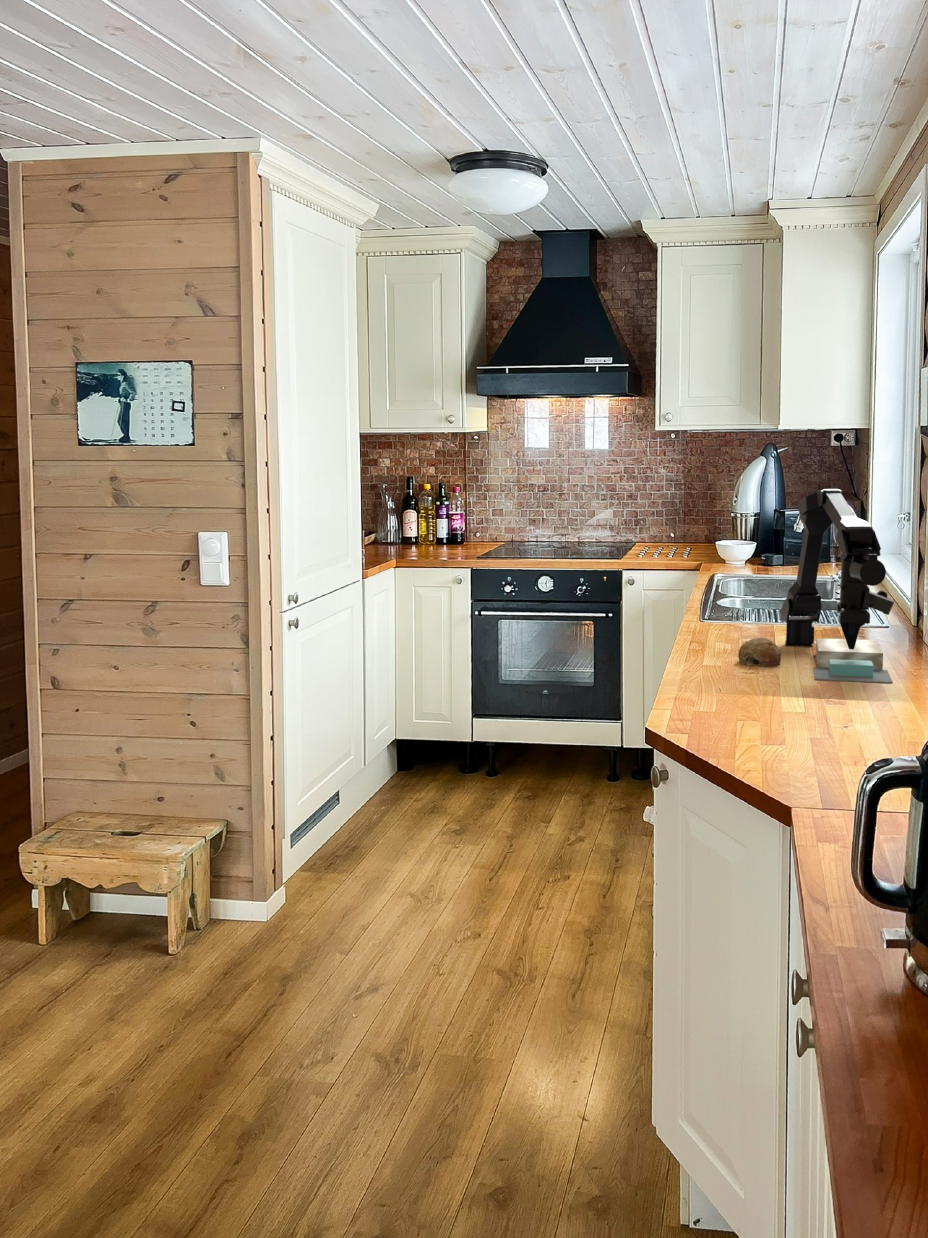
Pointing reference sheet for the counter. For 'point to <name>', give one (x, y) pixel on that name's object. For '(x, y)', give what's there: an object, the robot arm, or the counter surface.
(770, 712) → the counter surface
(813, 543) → the robot arm
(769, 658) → the brown rounded dome
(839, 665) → the teal rectangular block
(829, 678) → the mat
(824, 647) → the board
